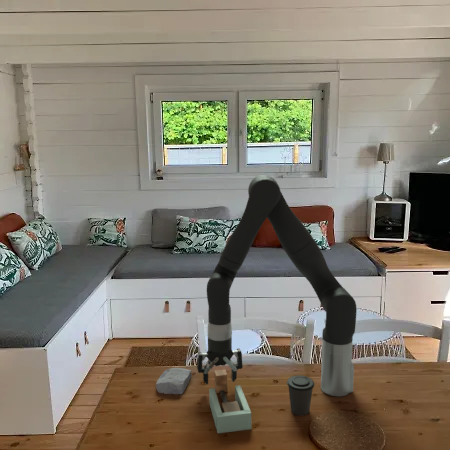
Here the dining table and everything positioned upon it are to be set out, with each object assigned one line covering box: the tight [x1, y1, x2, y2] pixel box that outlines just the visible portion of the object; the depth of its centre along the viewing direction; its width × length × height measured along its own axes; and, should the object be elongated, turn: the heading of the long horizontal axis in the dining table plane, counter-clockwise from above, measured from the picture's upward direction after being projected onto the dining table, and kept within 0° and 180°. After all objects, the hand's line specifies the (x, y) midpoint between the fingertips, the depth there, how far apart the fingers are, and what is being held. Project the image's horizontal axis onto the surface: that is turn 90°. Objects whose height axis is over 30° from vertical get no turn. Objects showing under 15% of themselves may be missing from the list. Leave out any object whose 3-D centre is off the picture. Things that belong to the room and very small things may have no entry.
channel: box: [208, 384, 252, 434], centre depth 139 cm, size 10×15×5 cm, turn 10°
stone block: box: [155, 367, 192, 395], centre depth 156 cm, size 12×5×10 cm
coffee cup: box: [286, 375, 316, 417], centre depth 140 cm, size 8×8×10 cm
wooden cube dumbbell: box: [214, 369, 241, 413], centre depth 144 cm, size 4×21×6 cm, turn 10°
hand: (219, 381), depth 152 cm, fingers open, 8 cm apart
